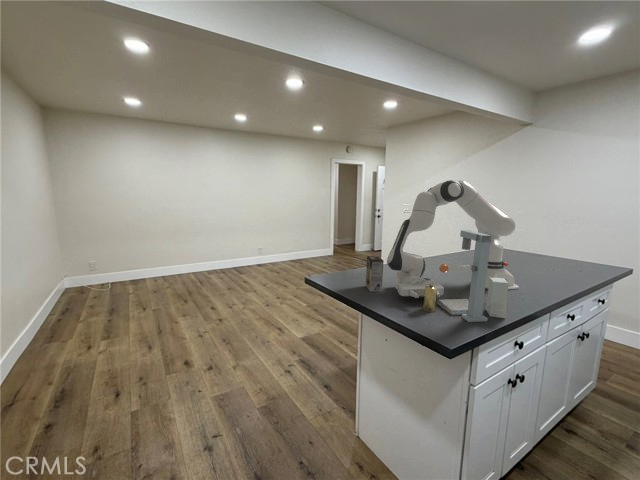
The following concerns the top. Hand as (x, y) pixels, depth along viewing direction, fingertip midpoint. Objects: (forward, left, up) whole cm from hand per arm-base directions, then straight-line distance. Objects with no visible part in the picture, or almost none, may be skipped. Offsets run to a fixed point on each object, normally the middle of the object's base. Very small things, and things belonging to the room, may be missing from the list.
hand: (428, 296), depth 128 cm
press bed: (-14, +2, -6) cm, 15 cm away
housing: (0, +2, -6) cm, 6 cm away
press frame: (-14, +7, -6) cm, 17 cm away
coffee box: (+16, -26, -6) cm, 31 cm away
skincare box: (-26, +8, -6) cm, 28 cm away
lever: (-5, +12, +14) cm, 19 cm away
